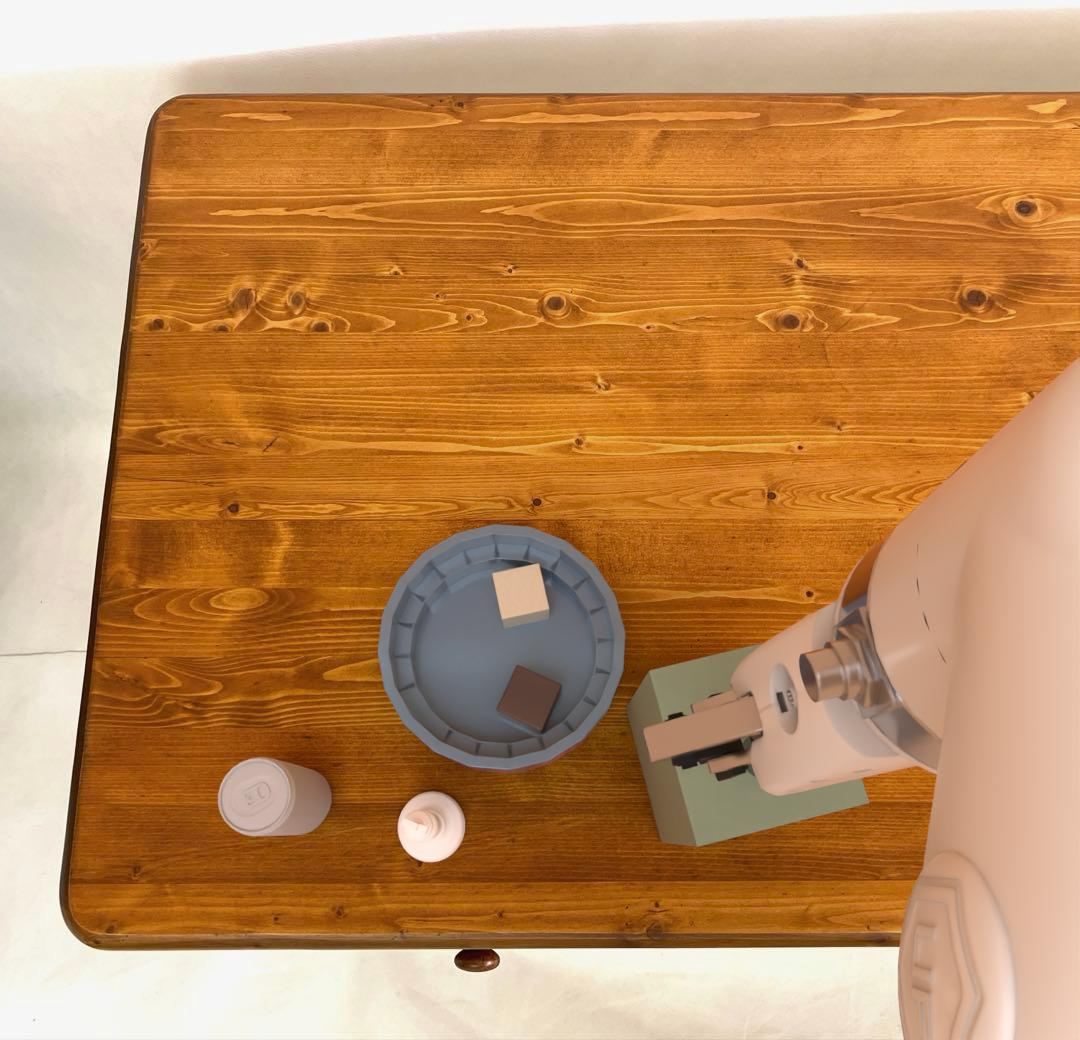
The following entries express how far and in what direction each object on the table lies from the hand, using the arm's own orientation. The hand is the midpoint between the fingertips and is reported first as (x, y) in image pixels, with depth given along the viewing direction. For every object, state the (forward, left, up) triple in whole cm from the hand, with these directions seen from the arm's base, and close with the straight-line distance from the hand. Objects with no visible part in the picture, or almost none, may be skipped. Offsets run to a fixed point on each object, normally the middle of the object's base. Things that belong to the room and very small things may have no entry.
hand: (819, 716), depth 43 cm
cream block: (+15, +11, -31) cm, 36 cm away
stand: (0, 0, -31) cm, 31 cm away
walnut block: (+7, +12, -31) cm, 34 cm away
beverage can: (+4, +30, -32) cm, 44 cm away
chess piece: (0, +21, -32) cm, 38 cm away
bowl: (+11, +13, -31) cm, 36 cm away
